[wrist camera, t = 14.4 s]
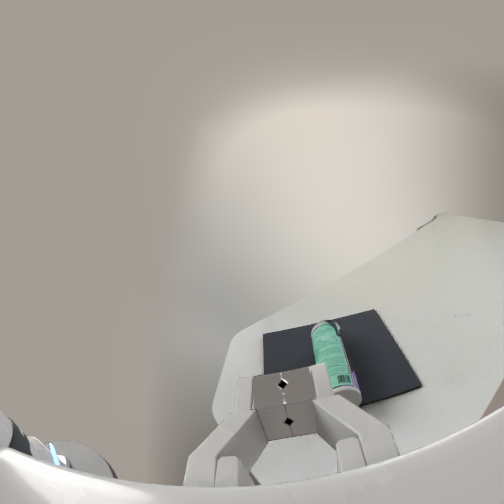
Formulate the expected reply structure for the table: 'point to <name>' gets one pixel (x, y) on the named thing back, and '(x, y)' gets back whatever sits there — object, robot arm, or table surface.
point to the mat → (360, 351)
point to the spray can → (335, 359)
